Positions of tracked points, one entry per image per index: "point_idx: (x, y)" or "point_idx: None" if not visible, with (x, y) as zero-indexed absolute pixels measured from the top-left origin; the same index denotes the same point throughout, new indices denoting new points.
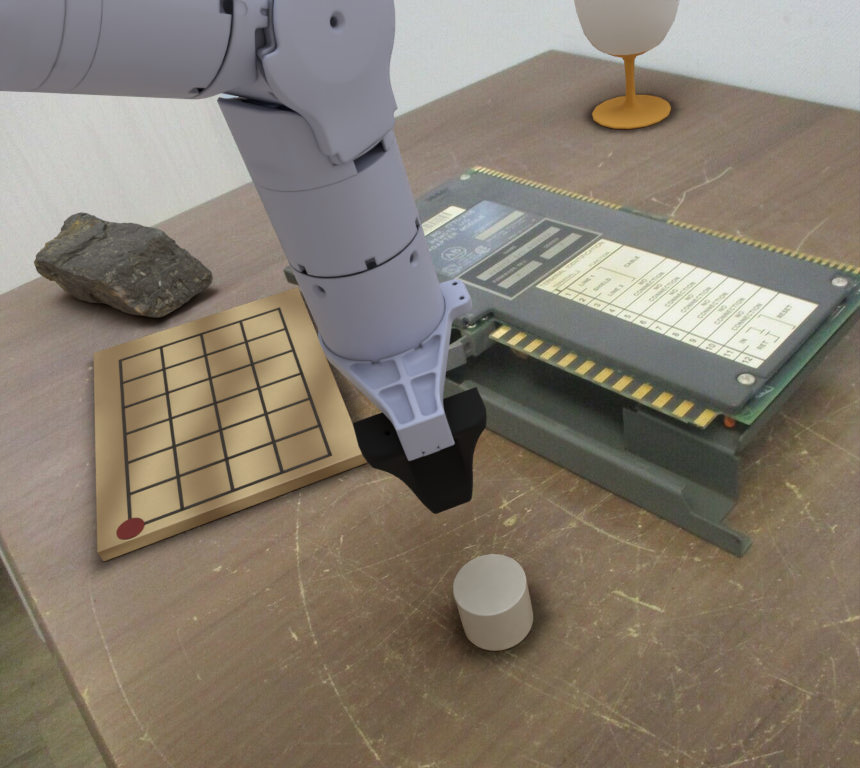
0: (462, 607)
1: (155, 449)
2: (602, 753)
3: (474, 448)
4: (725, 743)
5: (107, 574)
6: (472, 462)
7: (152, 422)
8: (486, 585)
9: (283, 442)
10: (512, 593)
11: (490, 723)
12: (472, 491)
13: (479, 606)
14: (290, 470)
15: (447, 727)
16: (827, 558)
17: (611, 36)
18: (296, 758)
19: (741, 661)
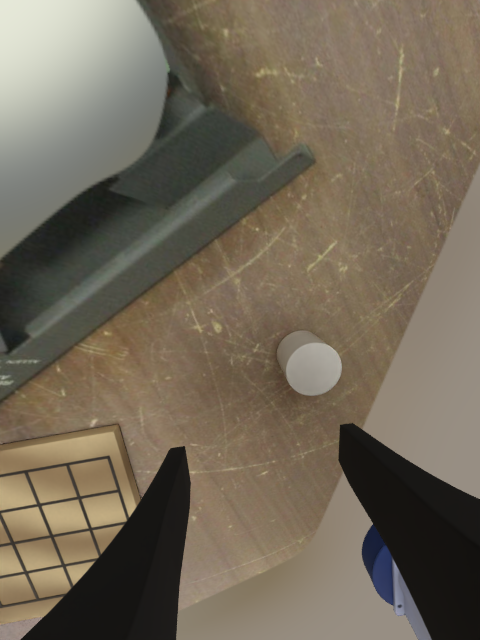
0: (326, 391)
1: (63, 577)
2: (409, 314)
3: (473, 496)
4: (435, 240)
5: None
6: (417, 466)
7: (27, 583)
8: (315, 372)
9: (81, 490)
10: (330, 355)
11: (366, 371)
12: (359, 428)
13: (330, 380)
14: (119, 485)
15: (358, 394)
16: (343, 88)
17: None
18: None
19: (393, 204)
